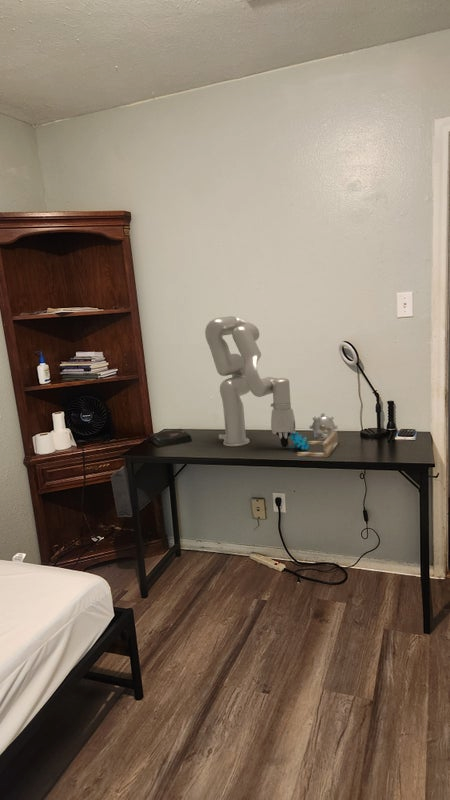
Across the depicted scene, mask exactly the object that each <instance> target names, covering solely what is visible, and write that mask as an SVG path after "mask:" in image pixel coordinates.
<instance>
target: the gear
mask: <svg viewBox="0 0 450 800" xmlns="http://www.w3.org/2000/svg"><path fill="white" fill-rule="evenodd" d="M334 419H335V418H334V417H333V416H331V417H329V416H326V415H325V412H324V413H321V414H320V416H318V417H317V416H314V417H312V419H311V420H312V421H313V423H312V424H310V425H309V430H310V429H311V430H312V432H313V435H312V437H314V438H316V437H318V439H317V440H316V441H325V440H326V439H327V438H328V437H329V436H330V434H331V433H332V432H333V431H336V430H338V428H339V427H338V425H335V423H334Z"/></svg>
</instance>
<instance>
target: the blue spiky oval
mask: <svg viewBox="0 0 450 800" xmlns="http://www.w3.org/2000/svg"><path fill="white" fill-rule="evenodd" d="M289 437H290V440H292V443H293V446H291V449H293V450H294V449H295V448H300V449H301V450H302V451H304V450H305V451H307V450H308V449H309V448H310V446H309V444H308V441H307V437H306V436H304V437H303V435H302V434H299V432H297V431H296V433H295V434H292V433H291V435H290V436H289Z"/></svg>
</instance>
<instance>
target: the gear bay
mask: <svg viewBox="0 0 450 800" xmlns="http://www.w3.org/2000/svg"><path fill="white" fill-rule="evenodd" d="M307 442H308V445H319V446H320V445H322V446H323V447H322V449H323V452H310V451H308V452H307V451H297V452H296V455H297V456H298V457H318V458H319V457H320V458H328V457H330V455H331V454H332V452H333V451H334V450H335V448H336V446H337V445H338V431H337V430H334V431H333V432H332V433H331V434H330V436H329V437H328V438H326V440H325V441H317V440H308V441H307Z"/></svg>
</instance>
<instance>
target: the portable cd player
mask: <svg viewBox="0 0 450 800" xmlns="http://www.w3.org/2000/svg"><path fill="white" fill-rule="evenodd" d="M149 435H150V441H151V443H153V444H154V445H155V446H156V447H157V448H166V447H170V446H171V447H172V446H176V445H182V444H187V443H192V442H193V439H192V436H191V434H190V433H188V432H186V431H185V430H184V429H182V428H178V429H172V430H166V431H160V432H159V431H158V432H156V433H150V434H149Z"/></svg>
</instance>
